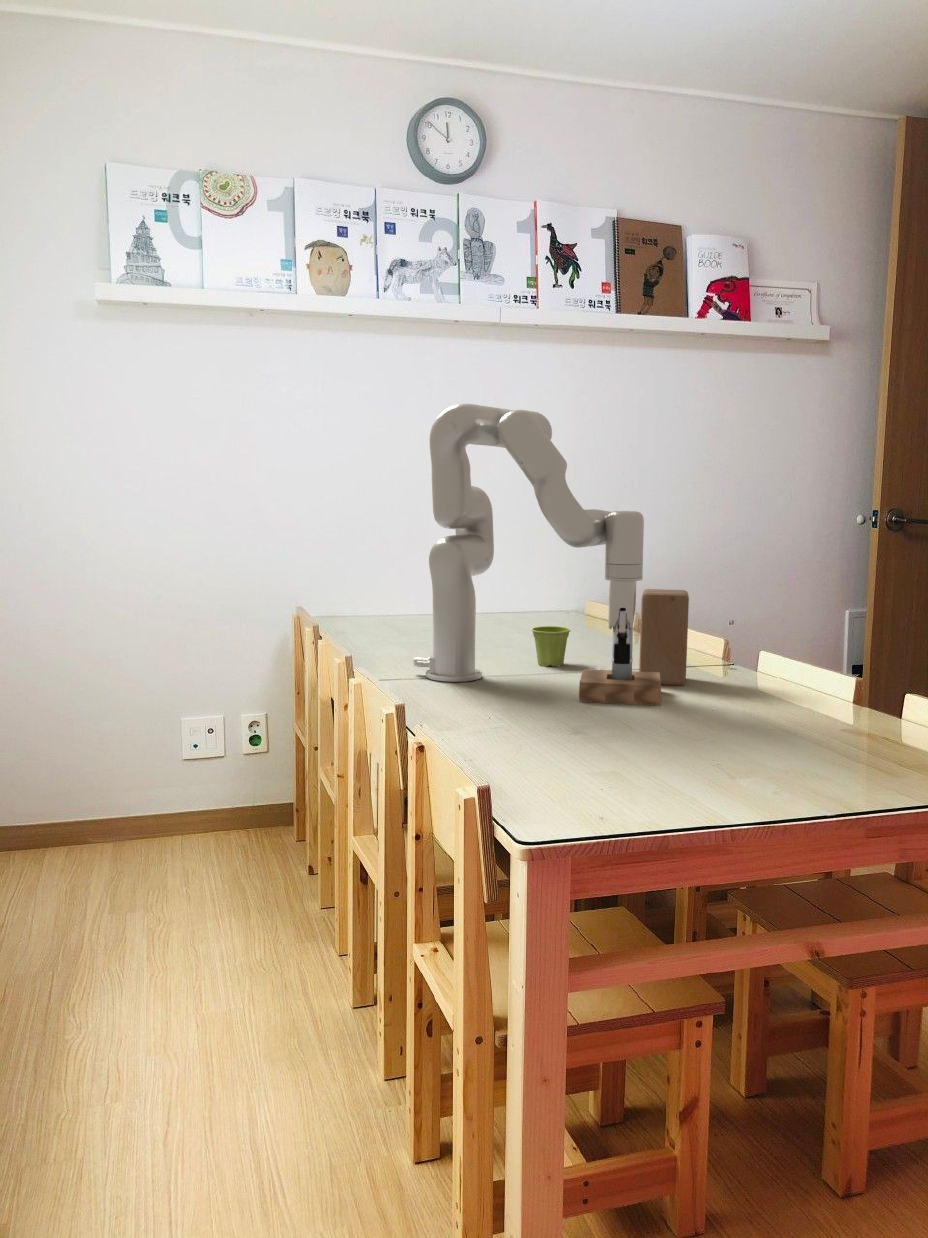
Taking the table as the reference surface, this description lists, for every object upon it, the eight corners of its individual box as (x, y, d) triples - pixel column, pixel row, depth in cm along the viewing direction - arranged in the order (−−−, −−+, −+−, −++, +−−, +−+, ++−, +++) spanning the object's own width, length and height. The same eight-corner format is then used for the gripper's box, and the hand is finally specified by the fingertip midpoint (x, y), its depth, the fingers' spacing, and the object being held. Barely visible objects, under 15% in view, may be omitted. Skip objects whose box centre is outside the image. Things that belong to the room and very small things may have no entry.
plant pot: (551, 669, 237) (551, 633, 236) (522, 664, 244) (523, 628, 243) (578, 665, 243) (578, 629, 242) (549, 659, 250) (550, 624, 249)
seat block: (579, 702, 203) (579, 682, 203) (582, 687, 217) (583, 669, 216) (660, 705, 200) (661, 685, 200) (658, 690, 214) (659, 672, 214)
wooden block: (685, 686, 219) (689, 594, 216) (638, 684, 221) (641, 593, 218) (685, 677, 229) (688, 589, 226) (640, 675, 231) (642, 588, 228)
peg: (611, 680, 206) (612, 622, 205) (611, 676, 210) (612, 619, 209) (632, 681, 206) (633, 622, 204) (632, 677, 210) (633, 619, 208)
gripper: (606, 568, 214) (604, 654, 216) (603, 575, 197) (602, 668, 200) (642, 569, 213) (640, 655, 215) (643, 576, 196) (640, 669, 199)
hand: (621, 660), depth 208 cm, fingers closed on peg, 4 cm apart
